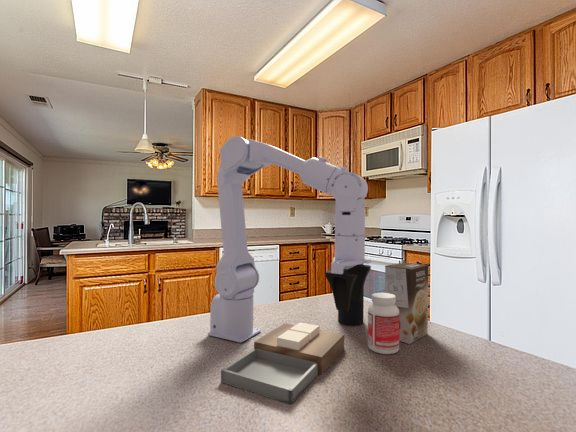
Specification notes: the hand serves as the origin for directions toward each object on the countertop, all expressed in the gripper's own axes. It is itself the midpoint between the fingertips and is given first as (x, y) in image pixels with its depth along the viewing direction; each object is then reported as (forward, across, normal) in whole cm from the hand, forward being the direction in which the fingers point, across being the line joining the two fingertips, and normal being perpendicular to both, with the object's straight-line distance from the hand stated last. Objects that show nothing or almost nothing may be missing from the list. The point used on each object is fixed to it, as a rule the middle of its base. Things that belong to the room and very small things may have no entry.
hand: (348, 305), depth 64 cm
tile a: (+7, -1, +9) cm, 11 cm away
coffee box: (+10, +17, -8) cm, 21 cm away
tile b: (+7, -6, +9) cm, 13 cm away
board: (+10, -3, +9) cm, 14 cm away
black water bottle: (+10, +20, +6) cm, 23 cm away
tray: (+10, -15, +9) cm, 20 cm away
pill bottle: (+10, +7, -5) cm, 13 cm away
